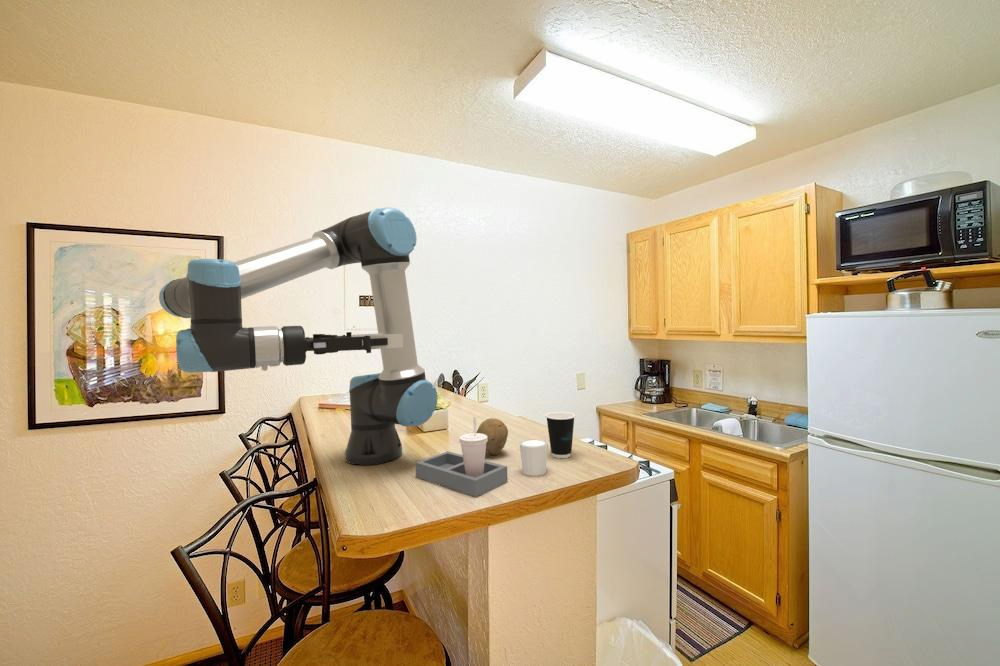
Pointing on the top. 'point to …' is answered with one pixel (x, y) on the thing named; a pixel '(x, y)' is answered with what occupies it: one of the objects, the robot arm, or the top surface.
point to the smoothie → (474, 452)
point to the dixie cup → (560, 433)
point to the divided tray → (460, 474)
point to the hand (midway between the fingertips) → (391, 339)
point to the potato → (494, 435)
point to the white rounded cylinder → (534, 457)
